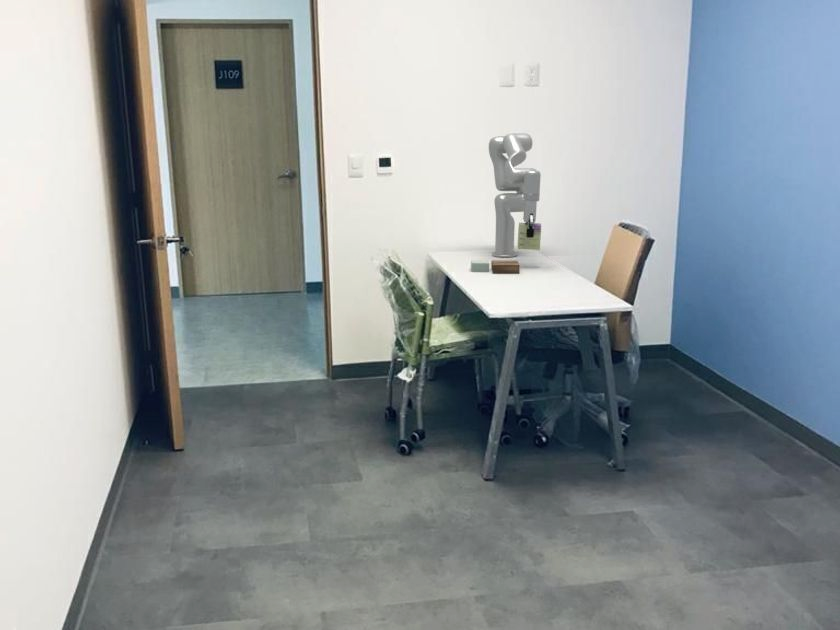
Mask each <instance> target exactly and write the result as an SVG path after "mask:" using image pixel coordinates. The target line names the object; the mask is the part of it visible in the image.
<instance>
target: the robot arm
mask: <svg viewBox="0 0 840 630" xmlns="http://www.w3.org/2000/svg"><path fill="white" fill-rule="evenodd" d="M532 148H533V139H532V137H531V135H530V134H529V133H526V132H524V133H522V132H521V133H508V134H506V135H504V136H503V135H502V136H500V135H499V136H495V137H492V138H490V139H489V142H488V153H489V157H490V160H491V162H492V166H493V173H494V174H493V175H494V184H495V188H496V190H497V191H498V192H503V193H498V194H496V196H495V197H494V201H493V202H494V209H495V246H494V247H495V249H494V250H495V251H494V252H492V253H491V256H493V257H497V258H515V257H517V255H518V254H517V252H515V218H514V217H513V215H512V213H523V216H522V217H523V218H522V220H523V221H524V222H523V223H528V229H527V237H532V238H533V237H534V223H536V219H537V205H538V204H537V203H538V202H539V201H540V190H541V178H542V177H541V175H542V174H541V172H540V171H539V170H537V169H535V168H533V167H528V168H527V167H526V168H525V167H518V168H517V166H519V165H521V164H523V162H524V161H526V159H527V152H529V151H531V150H532ZM504 154H506V156H507V157H508V158H507V157H506V156H505V155H504ZM514 167H515V168H514ZM506 192H507V193H506Z"/></svg>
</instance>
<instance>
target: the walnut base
mask: <svg viewBox="0 0 840 630" xmlns="http://www.w3.org/2000/svg"><path fill="white" fill-rule="evenodd" d="M490 261H491V262H490V263H491V264H490V267H491V272H492V274H493V275H495V274H497V275H500V274H502V275H506V274H507V275H519V274H520V272H521V271H520V268H521V267H520V266H521V265H520V263H519V261H518V260H507V259H506V260H505V259H504V260H503V259H502V260H501V259H500V260H499V259H498V260H495V259H494V260H493V259H492V260H490Z"/></svg>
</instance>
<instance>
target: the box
mask: <svg viewBox="0 0 840 630" xmlns="http://www.w3.org/2000/svg"><path fill="white" fill-rule="evenodd" d="M527 229H528V223H525V222H519V223H518V233H517V249H518V250H532V251H534V250H536V251H540V250H541V238H542V237H541V235H542V224H541V223H540V222H539V223H537V222H535V223H534V237H533V238H532V237H527Z"/></svg>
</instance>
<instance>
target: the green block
mask: <svg viewBox="0 0 840 630" xmlns="http://www.w3.org/2000/svg"><path fill="white" fill-rule="evenodd" d="M470 271H471V272H472V273H489V272H490V262H489V260H488V259H487V260H485V259H483V260H482V259H481V260H479V259H478V260H475V259H474V260H473V259H472V260H470Z"/></svg>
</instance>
